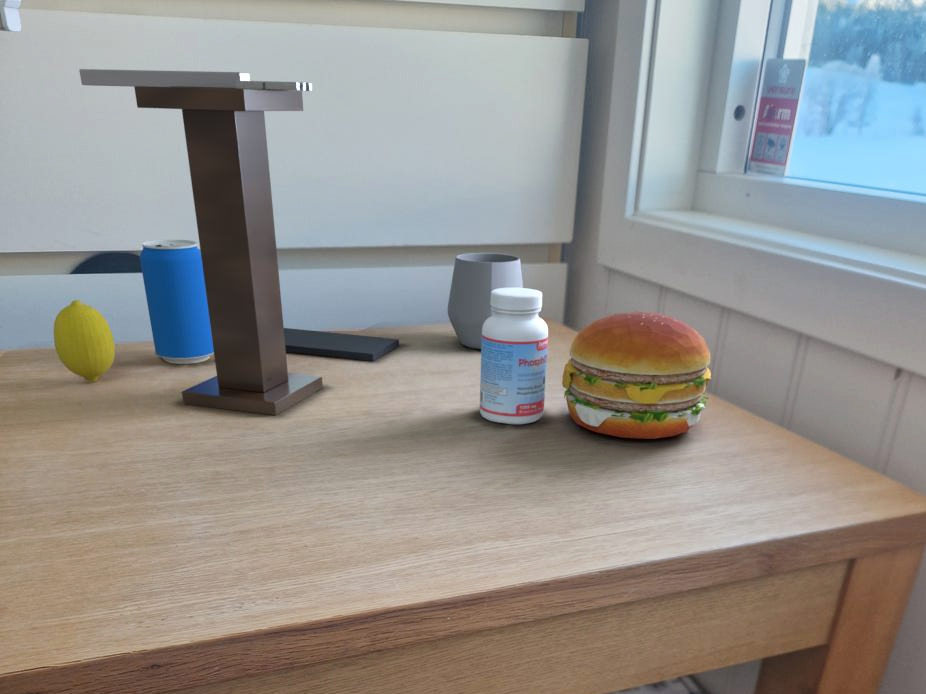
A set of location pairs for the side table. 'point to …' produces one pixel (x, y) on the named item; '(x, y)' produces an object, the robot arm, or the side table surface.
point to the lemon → (84, 340)
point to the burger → (637, 376)
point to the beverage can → (177, 300)
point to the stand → (237, 244)
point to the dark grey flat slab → (337, 344)
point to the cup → (478, 291)
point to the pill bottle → (513, 357)
